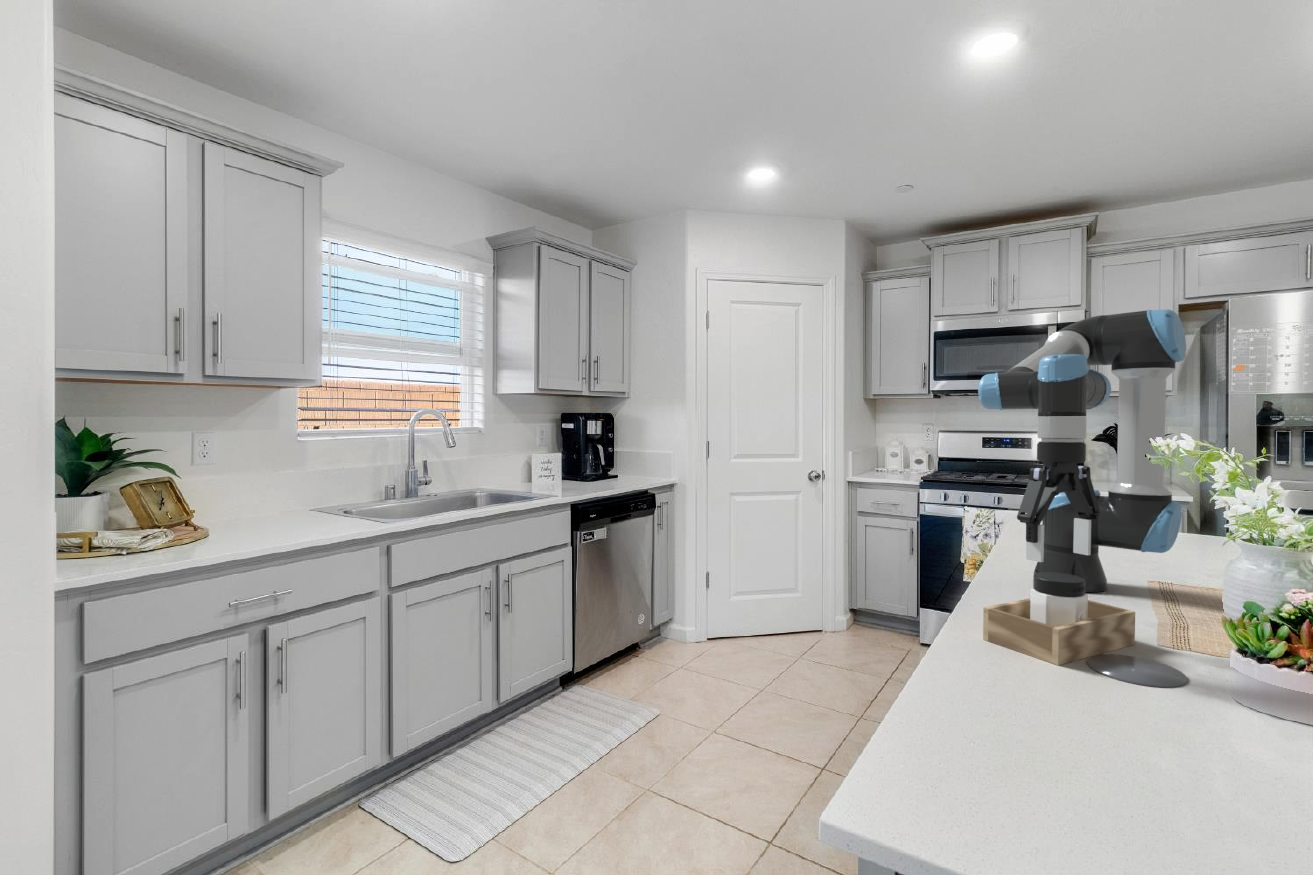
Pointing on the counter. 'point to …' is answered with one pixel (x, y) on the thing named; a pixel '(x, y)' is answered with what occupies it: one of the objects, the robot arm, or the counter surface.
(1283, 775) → the counter surface
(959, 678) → the counter surface
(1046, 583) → the jar
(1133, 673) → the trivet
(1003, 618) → the frame
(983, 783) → the counter surface
